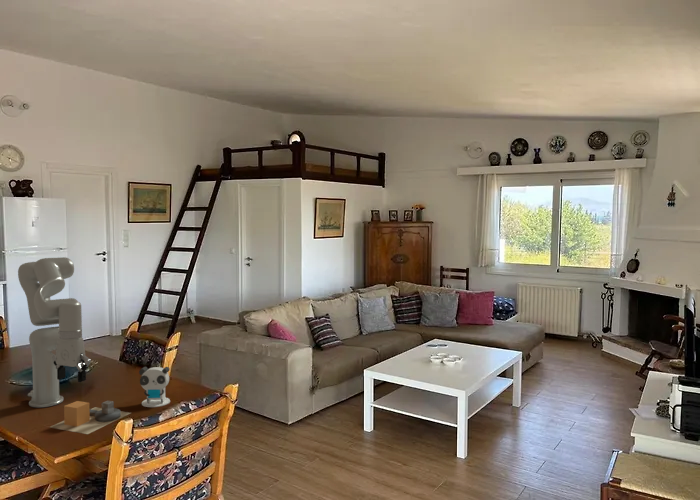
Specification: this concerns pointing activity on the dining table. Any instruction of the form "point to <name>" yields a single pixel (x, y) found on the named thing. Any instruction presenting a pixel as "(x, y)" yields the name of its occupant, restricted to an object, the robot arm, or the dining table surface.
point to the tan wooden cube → (76, 413)
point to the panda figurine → (154, 386)
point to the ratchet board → (86, 425)
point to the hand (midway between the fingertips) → (71, 379)
